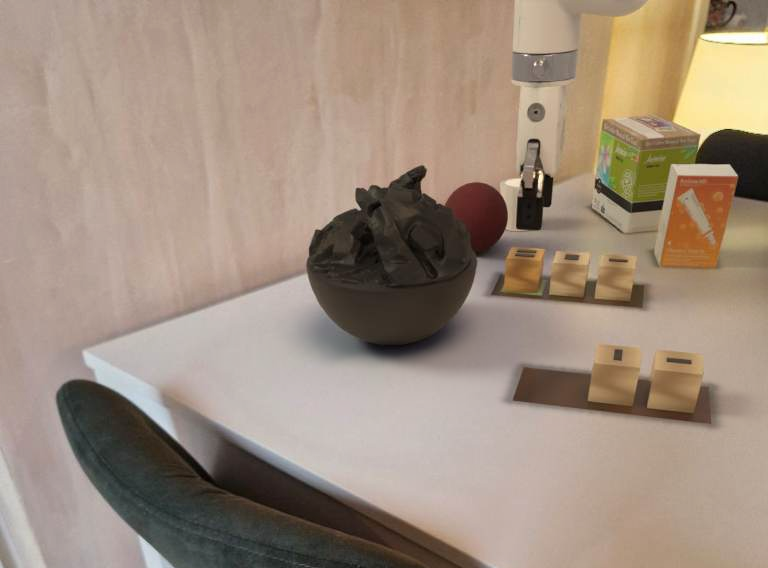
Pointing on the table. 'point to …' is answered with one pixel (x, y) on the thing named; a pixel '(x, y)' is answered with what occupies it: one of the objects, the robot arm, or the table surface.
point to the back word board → (573, 281)
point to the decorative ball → (480, 213)
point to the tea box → (638, 168)
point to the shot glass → (511, 200)
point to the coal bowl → (392, 264)
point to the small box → (695, 214)
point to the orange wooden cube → (524, 269)
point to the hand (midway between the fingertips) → (534, 217)
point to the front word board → (578, 393)
